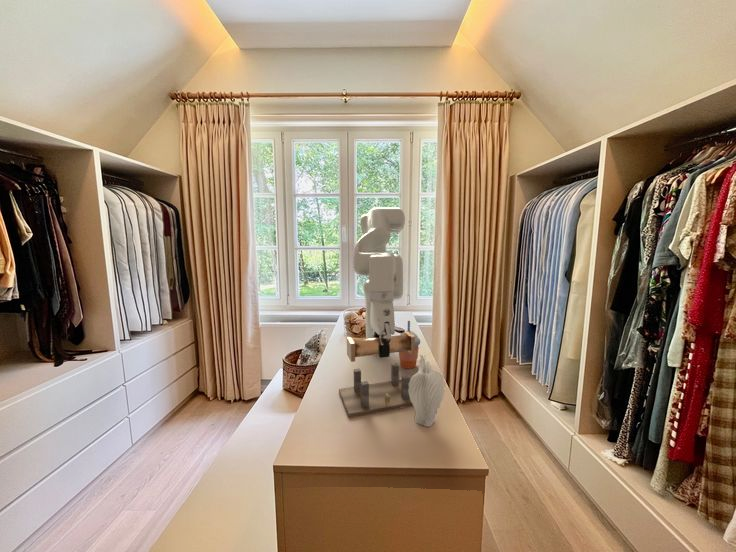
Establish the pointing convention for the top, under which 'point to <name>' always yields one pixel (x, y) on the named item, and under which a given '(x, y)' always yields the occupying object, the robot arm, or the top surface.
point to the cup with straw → (407, 358)
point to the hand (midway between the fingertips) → (381, 352)
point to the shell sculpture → (426, 392)
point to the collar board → (376, 394)
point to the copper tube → (372, 345)
